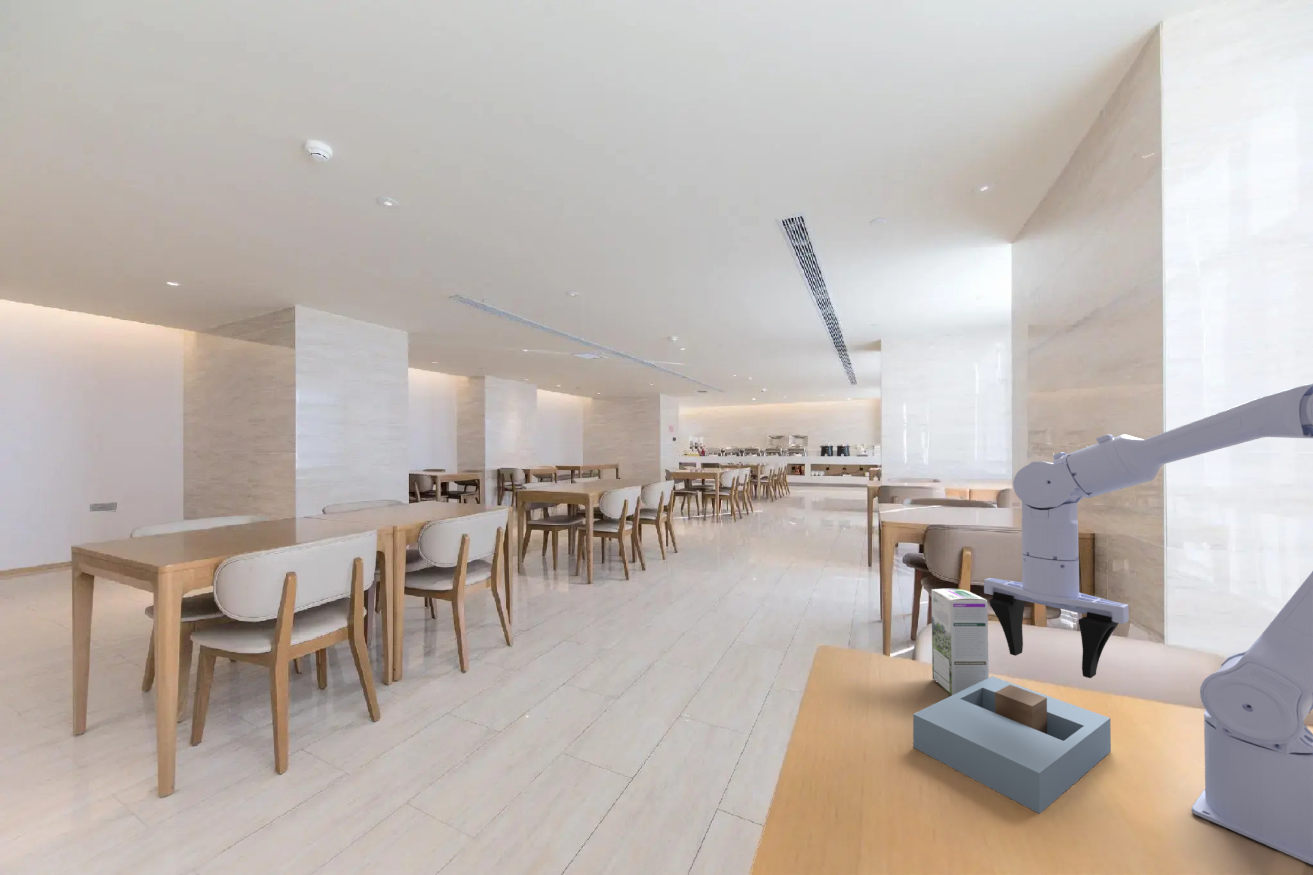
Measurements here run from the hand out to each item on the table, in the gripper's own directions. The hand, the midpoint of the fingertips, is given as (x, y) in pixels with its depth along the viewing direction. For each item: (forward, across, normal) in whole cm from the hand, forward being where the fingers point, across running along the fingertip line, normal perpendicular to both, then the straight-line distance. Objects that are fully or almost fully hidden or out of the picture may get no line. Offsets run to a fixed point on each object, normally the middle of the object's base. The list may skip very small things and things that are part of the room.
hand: (1050, 663), depth 63 cm
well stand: (+9, +2, +7) cm, 12 cm away
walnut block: (+9, +2, +4) cm, 11 cm away
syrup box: (+10, +13, -4) cm, 17 cm away
